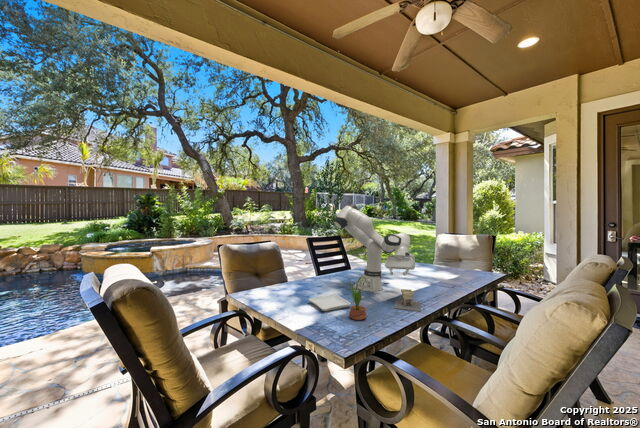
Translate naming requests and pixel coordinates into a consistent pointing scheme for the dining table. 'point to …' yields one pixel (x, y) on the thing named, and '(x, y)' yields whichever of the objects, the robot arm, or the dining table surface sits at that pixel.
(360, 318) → the potted flower
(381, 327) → the dining table surface
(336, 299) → the salad plate
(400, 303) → the grey-brown square panel
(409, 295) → the birch stool
